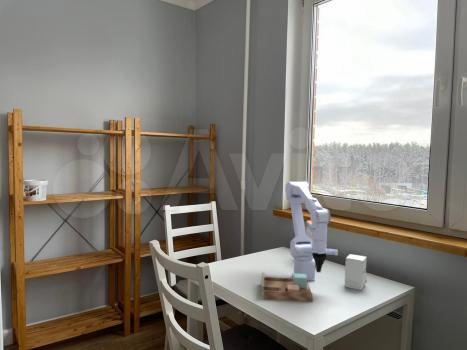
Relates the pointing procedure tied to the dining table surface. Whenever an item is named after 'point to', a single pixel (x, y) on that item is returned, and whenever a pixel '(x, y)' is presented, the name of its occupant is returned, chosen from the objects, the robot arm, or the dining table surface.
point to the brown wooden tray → (283, 290)
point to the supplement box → (355, 271)
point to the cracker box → (309, 232)
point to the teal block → (300, 280)
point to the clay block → (293, 288)
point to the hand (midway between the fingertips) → (318, 271)
